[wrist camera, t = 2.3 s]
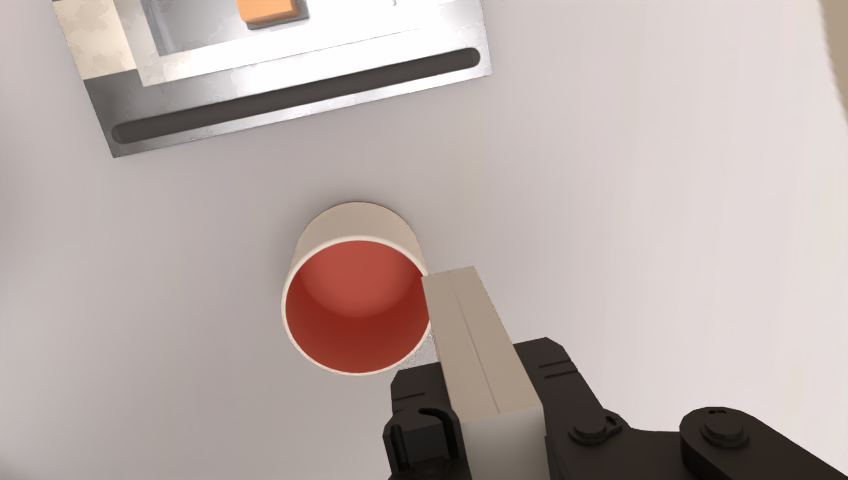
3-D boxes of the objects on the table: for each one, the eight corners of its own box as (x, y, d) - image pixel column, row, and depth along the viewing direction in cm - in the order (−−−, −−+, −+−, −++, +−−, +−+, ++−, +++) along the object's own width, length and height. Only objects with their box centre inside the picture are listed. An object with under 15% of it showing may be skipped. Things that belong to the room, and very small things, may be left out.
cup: (358, 172, 44) (359, 203, 35) (444, 257, 47) (466, 307, 38) (269, 258, 46) (247, 310, 36) (358, 336, 49) (359, 403, 39)
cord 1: (120, 144, 40) (112, 147, 39) (113, 125, 40) (104, 127, 39) (479, 65, 42) (483, 65, 40) (476, 45, 41) (480, 45, 40)
